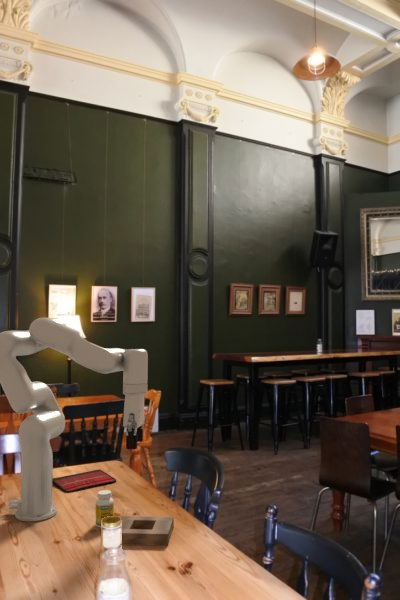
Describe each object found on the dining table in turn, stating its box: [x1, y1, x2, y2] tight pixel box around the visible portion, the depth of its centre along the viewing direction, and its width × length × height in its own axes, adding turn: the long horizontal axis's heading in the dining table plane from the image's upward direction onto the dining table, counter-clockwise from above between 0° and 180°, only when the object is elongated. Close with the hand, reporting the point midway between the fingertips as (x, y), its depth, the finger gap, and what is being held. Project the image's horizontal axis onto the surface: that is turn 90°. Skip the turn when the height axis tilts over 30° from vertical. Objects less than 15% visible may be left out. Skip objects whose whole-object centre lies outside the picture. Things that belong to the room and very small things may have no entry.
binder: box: [52, 469, 117, 494], centre depth 185 cm, size 16×2×21 cm
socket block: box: [119, 515, 175, 546], centre depth 136 cm, size 16×12×3 cm
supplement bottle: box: [95, 489, 115, 529], centre depth 144 cm, size 5×5×10 cm
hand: (134, 445), depth 147 cm, fingers open, 9 cm apart
